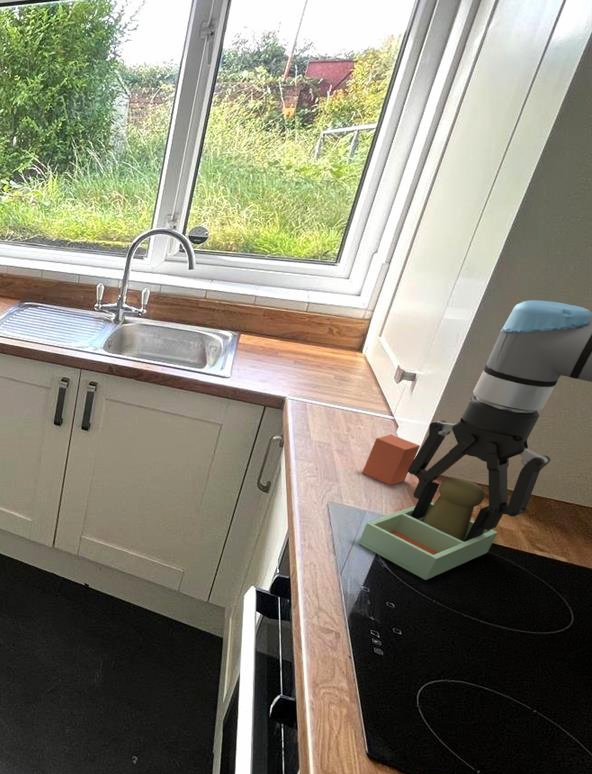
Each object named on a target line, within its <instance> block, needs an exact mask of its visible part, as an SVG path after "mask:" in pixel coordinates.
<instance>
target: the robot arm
mask: <svg viewBox="0 0 592 774" xmlns="http://www.w3.org/2000/svg"><path fill="white" fill-rule="evenodd" d="M591 319H592V312H591V310H589V308H588V309H587V308H585V307H582V306H578V305H572V304H568V303H563V302H559V301H557V302H556V301H549V300H537V299H536V300H532V299H531V300H524V301H522V302H519V303H517V304H515V306H514V307H513V308H512V311H511V312H510V314H509V316H508V318H507V320H506V321H505V323H504V325H503V326H502V328H501V329H500V332H499V335H498V337H497V339H496V341H495V343H494V346H493V348H492V351H491V353H490V354H489V357H488V359H487V362H486V363H485V366H484V368H483V370H482V371H481V374H480V377H479V379H478V380H477V382H476V385H475V387H474V389H473V391H472V395H474V396H472V397H470V398H469V400H468V402H467V403H466V407H465V408H464V411H463V413H462V415H461V417H460V419H459V420H458V421H457V422H455V423H451V422H447V421H445V420H443V419H441V420H437V421H433V422H430V424H429V429H428V436H427V437H426V439H425V441H424V442H423V444H422V445H421V446H420V448H419V450H418V452H417V454H416V456H415V458H414V460H413V462H412V464H411V465H410V467H409V469H408V474H409V475H413V476H414V477H416V478H417V479H418V483H417V485H416V487H415V489H414V491H413V493H412V496H413V498H415V499H417V502H416V505H414V506H415V508H414V511H413V513H412V515H411V517H413V518H415V519H419V518H422V517H424V516H425V514H426V512H427V510H428V508H429V506H430V504H431V502H432V503H433V499H434V497H435V495H436V493H437V491H438V490H439V487H440V484H441V483H438V482H436V480H438V478H439V477H440V476H441V475H442V474H444V473H445V472H446V471H448V470H449V469H450V468H452V466H454V465H455V464H456V463H457V462H458V461H460V460H461V459H462V458H463V457H464V456H466V455H467V456H470V457H475V458H477V459H479V460H480V461H482V462H485V463H486V470H487V471H488V472H487V473H488V505H487V506H484V507H482V508H480V509H479V512H478V513H477V516H476V518H475V520H473V521H474V523H473V525H472V527H471V529H470V531H469V533H468V535H467V537H466V539H465V541H464V542H466V541H468V540H470V539H473V538H475V537H477V536H480V535H482V534H483V532H484V530H485V529H486V530H488V531H489V530H491V529H492V530H494V529H495V528H497V527H498V525H499V522H500V521H501V520H502V517H503V515H507V516H509V517H516V516H519V515H521V514H523V513H525V512H526V509H527V507H528V504H529V501H530V499H531V496H532V494H533V491H534V488H535V485H536V484H537V483H536V482H537V481H538V477H539V475H540V472H541V470H542V469H544V468H545V467H546V466H547V465H548V464H549V463H550V462H551V457H550V456H548V455H546V454H542V455H540V454H539V453H537V452H535V451H533V450H532V449H529V444H528V438H529V436H530V435H531V433H532V431H533V429H534V427H535V426H536V423H537V422H538V420H539V418H540V413H539V412H538V411H542V410H543V409H544V408H545V406H546V404H547V403H548V400H549V399H550V396H551V395H552V392H553V391H554V389H555V387H556V384H557V383H558V382H559V381H558V380H559V378H560V377H561V376H563V377H568V378H571V379H574V380H575V379H576V380H581V381H585V382H590V383H592V323H591V322H592V320H591ZM451 432H452V433H453V435H454V438H455V440H456V443H457V444H456V445H454V446H453V447H452V448H451V449H450V450H449V451H448V452H447V453H445V455H444V456H443V457H441V458H440V459H439V460H438V461H437V462H435V463H434V464H433V465H432V466H431V467H430V468H428V469H427V467H428V465H429V464H430V462H431V460H432V459H433V457H434V456H435V454H436V453H437V451H438V449H439V448H440V446H441V445H442V443H443V442H444V440H445V438H446V436H449V435H450V434H451ZM519 455H520V456H521V460H520V462H521V464H522V465H523V467H522V468H521V470H520V471H519V474H518V477H517V480H516V482H515V485H514V488H513V491H512V493H511V496H510V499H509V502H508V469H509V465H510V459H511V458H513V457H516V456H519Z"/></svg>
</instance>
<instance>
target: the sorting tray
mask: <svg viewBox="0 0 592 774" xmlns="http://www.w3.org/2000/svg"><path fill="white" fill-rule="evenodd" d="M434 503H435V502H433V501H432V502H431V504H430V506H429V508H428V510H427V512H426V514H427V513H428V512H429V510H430V509H431V507H432V506H433V505H434ZM415 506H416V505H412V506H411V507H408V508H404V509H402V510H400V511H397V512H393V513H390V514H388V515H385V516H383V517H380V518H377V519H374V520H372V521H371V520H370V521H369V522H366V524H365V526H364V529H363V530H362V532H361V536H360V538H359V540H358V542H357V544H358V545H361V546H362V547H363V548H366V549H367V550H369V551H371V552H373V553H375V554H377V555H378V556H381V557H382V558H384V559H386V560H388V561H390V562H391V563H393V564H395V565H397V566H399V567H401V568H402V569H404V570H406V571H408V572H410V573H412V574H413V575H415V576H416V577H419V578H421V579H422V580H425V581H428V580H430V579H432V578H434V577H436V576H438V575H441V574H443V573H445V572H447V571H450V570H452V569H455V568H456V567H458V566H461V565H463V564H465V563H467V562H469V561H472V560H473V559H476V558H478V557H481V556H483V555H485V554H488V552H489V550H490V548H491V546H492V545H493V543H494V541H495V539H496V537H497V536H498V534H499V532H498V531H496V530H494V529H491V530H489V531H488V530H486V529H485V530H484V532H483V534H482V535H480V536H477V537H475V538H473V539H470V540H468V541H466V542H463V541H461V540H459V539H457V538H455V537H453V536H451V535H448V534H446V533H444V532H442V531H440V530H438V529H436V528H434V527H432V526H430V525H428V524H425V523H423V522H421V521H422V520H423V518H424V517H425V516H426V514H425V516H424V517H422V518H419V519H415V518H413V517H411V515H412V513H413V511H414V508H415ZM474 521H475V520H472V519H470V523H469V527H468V530H467V534H466V537H467V535H468V533H469V531H470V529H471V527H472V525H473V523H474ZM466 537H465V539H466Z"/></svg>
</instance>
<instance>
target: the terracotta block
mask: <svg viewBox="0 0 592 774" xmlns="http://www.w3.org/2000/svg"><path fill="white" fill-rule="evenodd" d="M420 448H421V445H420V444H418V443H414V442H411V441H410V440H407V439H404V438H401V437H400V436H399V437H398V436H396V435H393V434H387V435H383V436H380V437H377V438H376V439H375V440H374V443H373V446H372V448H371V450H370V453H369V455H368V457H367V460H366V462H365V466H364V467H363V470H362V472H361V473H362V474H364V475H365V476H368V477H370V478H373V479H375V480H377V481H379V482H381V483H384V484H385V485H388V486H393V485H396V484H399V483H401V482H404V481H406V478H407V477H408V474H409V472H408V469H409V467H410V465H411V464H412V462H413V460H414V459H415V457H416V455H417V454H418V452H419V451H420Z"/></svg>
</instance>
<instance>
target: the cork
mask: <svg viewBox="0 0 592 774" xmlns="http://www.w3.org/2000/svg"><path fill="white" fill-rule="evenodd" d="M439 484H440V485H439V487H438V493H439V497H438V498H437V499H436V500H435V502H433V503H434V505H433V506H432V507H431V509H430V510H429V512H428V513H427V514H426V516H425V517H424V518H423V520H422V521H421V522H423V523H425V524H428V525H430V526H432V527H434V528H436V529H438V530H440V531H442V532H444V533H446V534H448V535H451V536H453V537H455V538H457V539H459V540H461V541H463V542H464V541H465V537H466V534H467V530H468V527H469V523H470V520H472V516H473V512H474V508H475V507H477V506H479V505H481V504H482V503H483V501H484V499H485V496H486V493H485V491H484V489H483V488H482V487H481V486H479V485H478V484H476V483H475V482H472V481H470V480H466V479H463V478H459V477H449V478H446V479H443V481H442V482H441V483H439Z"/></svg>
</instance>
